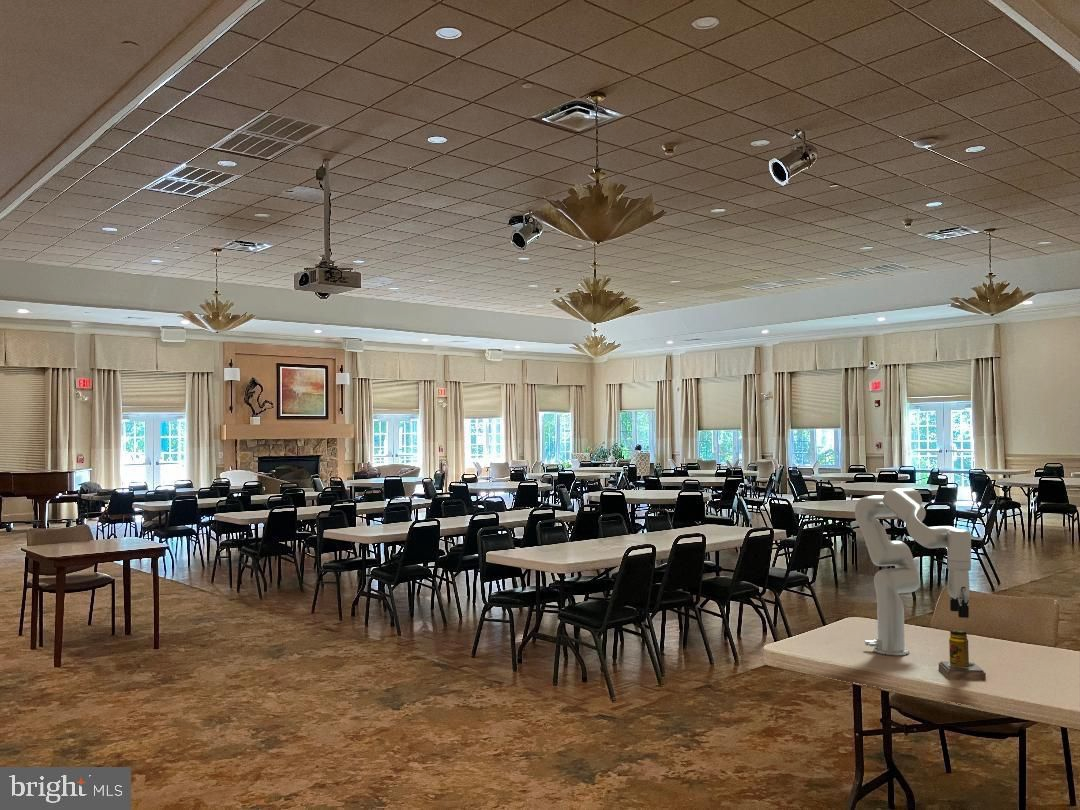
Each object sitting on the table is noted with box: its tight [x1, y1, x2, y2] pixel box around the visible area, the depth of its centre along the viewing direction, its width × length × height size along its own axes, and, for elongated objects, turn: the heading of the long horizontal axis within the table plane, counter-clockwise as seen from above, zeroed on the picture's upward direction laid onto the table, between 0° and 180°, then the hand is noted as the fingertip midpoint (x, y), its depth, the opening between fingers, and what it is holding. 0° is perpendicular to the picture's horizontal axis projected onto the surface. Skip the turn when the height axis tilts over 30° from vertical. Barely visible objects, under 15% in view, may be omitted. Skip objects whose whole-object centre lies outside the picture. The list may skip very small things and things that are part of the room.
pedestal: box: [938, 661, 987, 681], centre depth 314 cm, size 12×12×3 cm
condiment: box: [946, 629, 976, 669], centre depth 315 cm, size 7×8×12 cm
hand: (959, 614), depth 315 cm, fingers open, 9 cm apart
